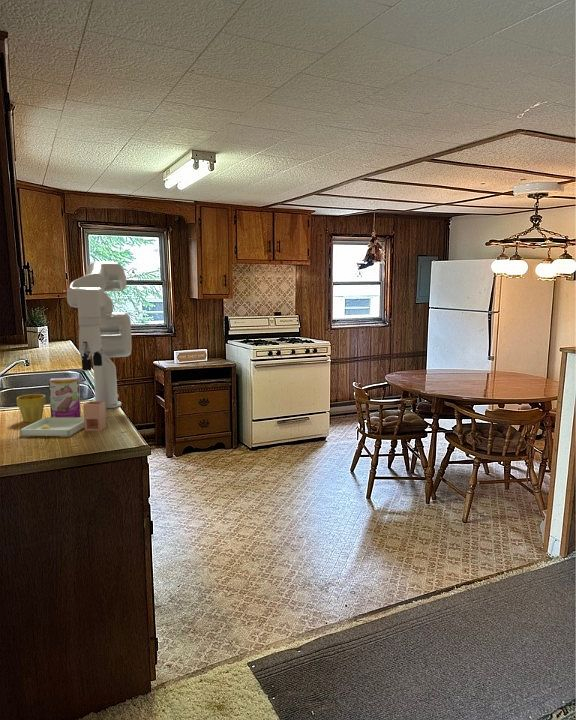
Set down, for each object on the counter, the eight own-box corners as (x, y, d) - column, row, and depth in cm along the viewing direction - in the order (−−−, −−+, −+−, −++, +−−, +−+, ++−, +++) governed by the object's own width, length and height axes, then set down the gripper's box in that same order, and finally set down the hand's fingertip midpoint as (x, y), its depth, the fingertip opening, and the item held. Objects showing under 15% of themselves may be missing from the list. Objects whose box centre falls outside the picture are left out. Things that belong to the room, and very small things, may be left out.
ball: (39, 429, 187) (40, 434, 185) (42, 423, 187) (43, 427, 185) (47, 431, 189) (48, 435, 187) (50, 424, 189) (52, 429, 187)
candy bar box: (50, 420, 208) (48, 380, 206) (52, 417, 213) (49, 378, 210) (80, 418, 211) (78, 378, 209) (81, 415, 216) (79, 376, 214)
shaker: (91, 426, 199) (90, 401, 197) (106, 426, 198) (105, 401, 197) (84, 430, 193) (83, 404, 191) (100, 431, 192) (99, 404, 191)
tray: (45, 423, 203) (45, 417, 203) (90, 423, 202) (90, 417, 202) (20, 436, 185) (19, 429, 185) (69, 436, 185) (69, 429, 184)
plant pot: (35, 424, 203) (33, 399, 201) (12, 423, 205) (10, 398, 203) (52, 417, 213) (50, 394, 211) (30, 416, 215) (28, 393, 213)
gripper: (89, 320, 200) (92, 364, 203) (69, 324, 183) (72, 371, 186) (108, 320, 200) (111, 364, 202) (90, 324, 183) (92, 372, 185)
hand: (92, 367), depth 194 cm, fingers open, 9 cm apart
